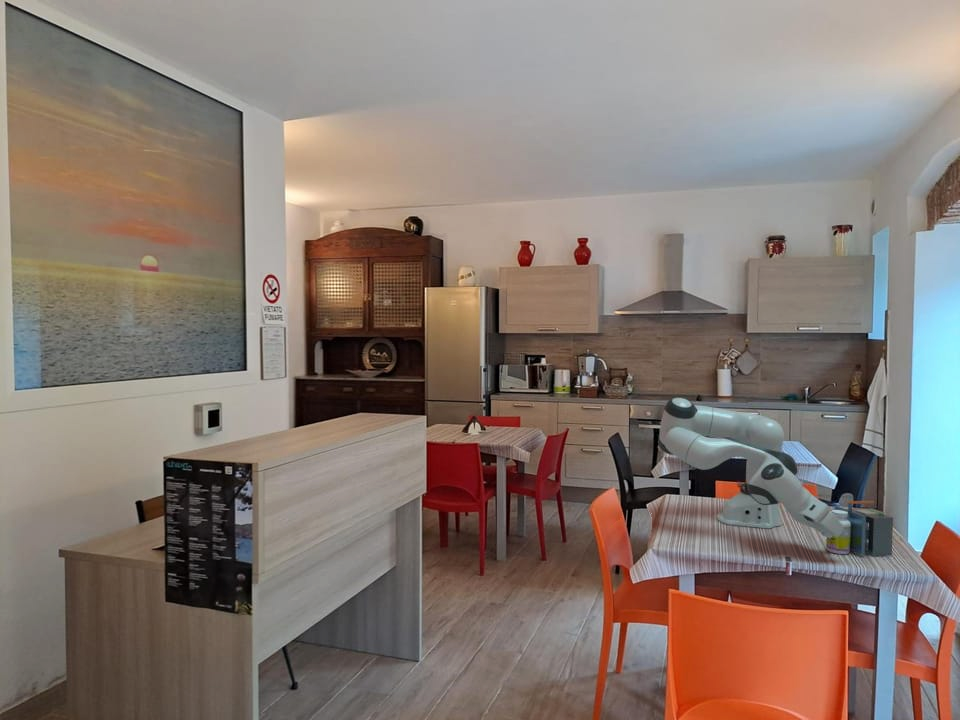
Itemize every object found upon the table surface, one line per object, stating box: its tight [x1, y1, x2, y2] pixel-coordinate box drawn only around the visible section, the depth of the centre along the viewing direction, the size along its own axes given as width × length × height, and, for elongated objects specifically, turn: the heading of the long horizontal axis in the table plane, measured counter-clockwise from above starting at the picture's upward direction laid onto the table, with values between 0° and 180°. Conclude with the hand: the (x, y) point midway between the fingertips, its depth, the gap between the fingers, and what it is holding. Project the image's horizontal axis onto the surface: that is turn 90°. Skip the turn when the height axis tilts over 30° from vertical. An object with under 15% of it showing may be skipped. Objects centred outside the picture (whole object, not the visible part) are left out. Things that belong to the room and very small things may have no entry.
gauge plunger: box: [834, 500, 875, 555], centre depth 216 cm, size 10×12×15 cm
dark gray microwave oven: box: [852, 507, 894, 557], centre depth 217 cm, size 7×12×13 cm, turn 12°
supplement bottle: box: [825, 509, 851, 555], centre depth 215 cm, size 7×7×13 cm
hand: (828, 535), depth 214 cm, fingers closed, pressing on supplement bottle
